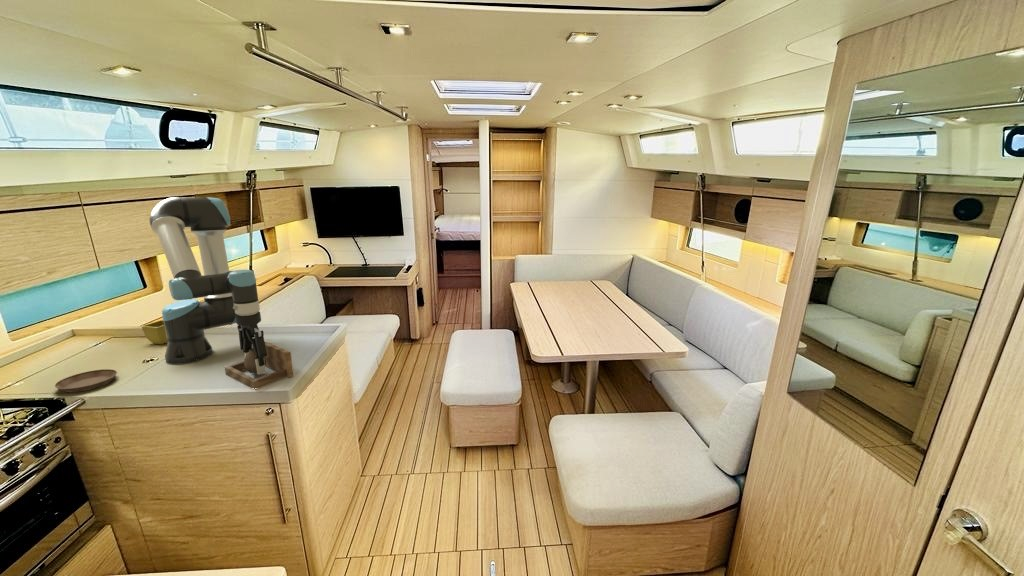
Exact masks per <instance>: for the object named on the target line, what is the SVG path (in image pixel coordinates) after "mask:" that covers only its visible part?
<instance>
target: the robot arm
mask: <svg viewBox="0 0 1024 576" xmlns="http://www.w3.org/2000/svg"><path fill="white" fill-rule="evenodd" d="M228 210H229V209H228V208H227V206H226V204H225V202H224V201H223V200H222V199H220V198H218V197H208V196H206V197H202V196H201V197H198V196H197V197H195V196H194V197H193V196H191V197H189V196H188V197H183V196H182V197H181V196H180V197H179V196H176V197H175V196H172V197H168V198H166V199H163V200H161V201H160V202H158V203H157V204H156V205H155V206H154V207H153V208H152V210H151V212H150V215H149V225H150V227H151V230H152V231H153V233H155V234H157V236H158V240H159V241H160V244H161V248H162V250H163V252H164V255H165V258H166V260H167V264H168V266H169V270H170V271H171V274H172V278H171V279H169V281H168V289H169V292H170V296H171V298H172V299H173V300H175V302H172V303H170V304H168V305H165V306H164V307H163V308H162V310H161V315H162V319H161V320H163V321H164V325H165V331H166V336H167V340H168V342H167V343H166V344H167V346H166V350H165V354H164V359H165V363H167V364H171V365H183V364H189V363H194V362H198V361H201V360H204V359H207V358H208V357H211V355H212V354H214V351H213V346H212V345H211V344H210V342H209V341H208V338H207V337H206V336H205V330H209V329H210V330H211V329H215V328H219V327H225V326H233V325H234V324H236V325H237V330H238V338H239V349H240V350H241V351H242V353H244V358H245V357H246V355H247V354H248V353H249V350H250V349H254V352H255V355H256V358H254V359H255V362H256V369H257V373H256V375H257V376H259V375H262V374H265V373H267V370H266V369H267V367H265V361H264V357H265V356H267V351H266V346H265V342H266V341H265V338H264V336H265V334H264V332H265V331H264V330H260V328H259V327H258V324H259V323H261V322H262V315H261V312H260V311H261V307H260V300H259V294H258V289H257V278H256V275H255V272H254V270H251V269H237V270H230V267H229V262H228V256H227V249H226V245H225V240H224V233H225V232H226V231H227V227H229V226H230V225H231V218H230V213H229V211H228ZM185 228H190V232H191V233H192V234H194V235H195V236H196V238H197V244H198V249H199V253H200V259H201V264H202V271H203V275H202V273H201V270H200V268H199V265H198V262H197V260H196V257H195V255H194V253H193V251H192V248H191V246H190V243H189V241H188V237H187V236H186V233H185V231H184V230H185ZM198 298H199V299H200V298H203V299H204V301H199V300H198Z"/></svg>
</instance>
